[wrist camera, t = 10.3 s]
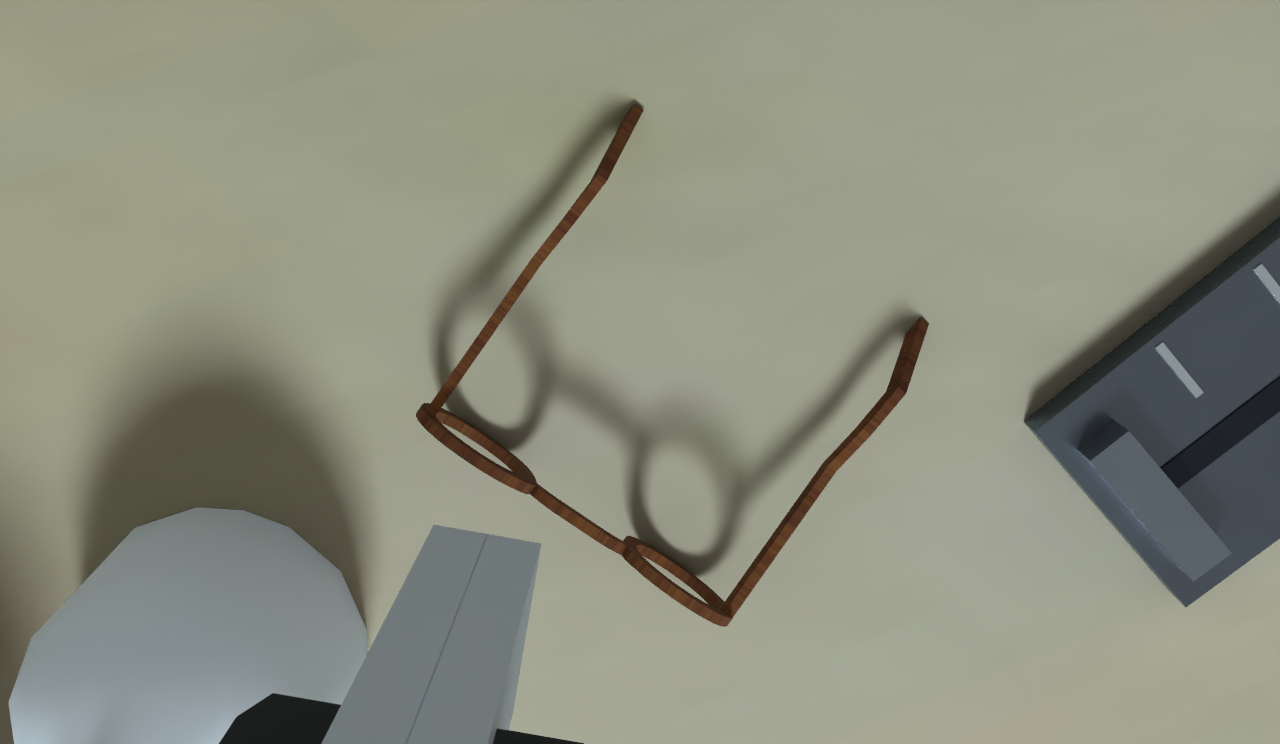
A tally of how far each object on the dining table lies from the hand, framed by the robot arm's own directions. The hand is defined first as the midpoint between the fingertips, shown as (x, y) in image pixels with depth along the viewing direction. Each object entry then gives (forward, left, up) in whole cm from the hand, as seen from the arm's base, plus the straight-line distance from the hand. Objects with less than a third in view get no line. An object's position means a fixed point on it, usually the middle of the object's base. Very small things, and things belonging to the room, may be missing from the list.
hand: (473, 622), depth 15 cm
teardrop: (+16, -11, -24) cm, 31 cm away
